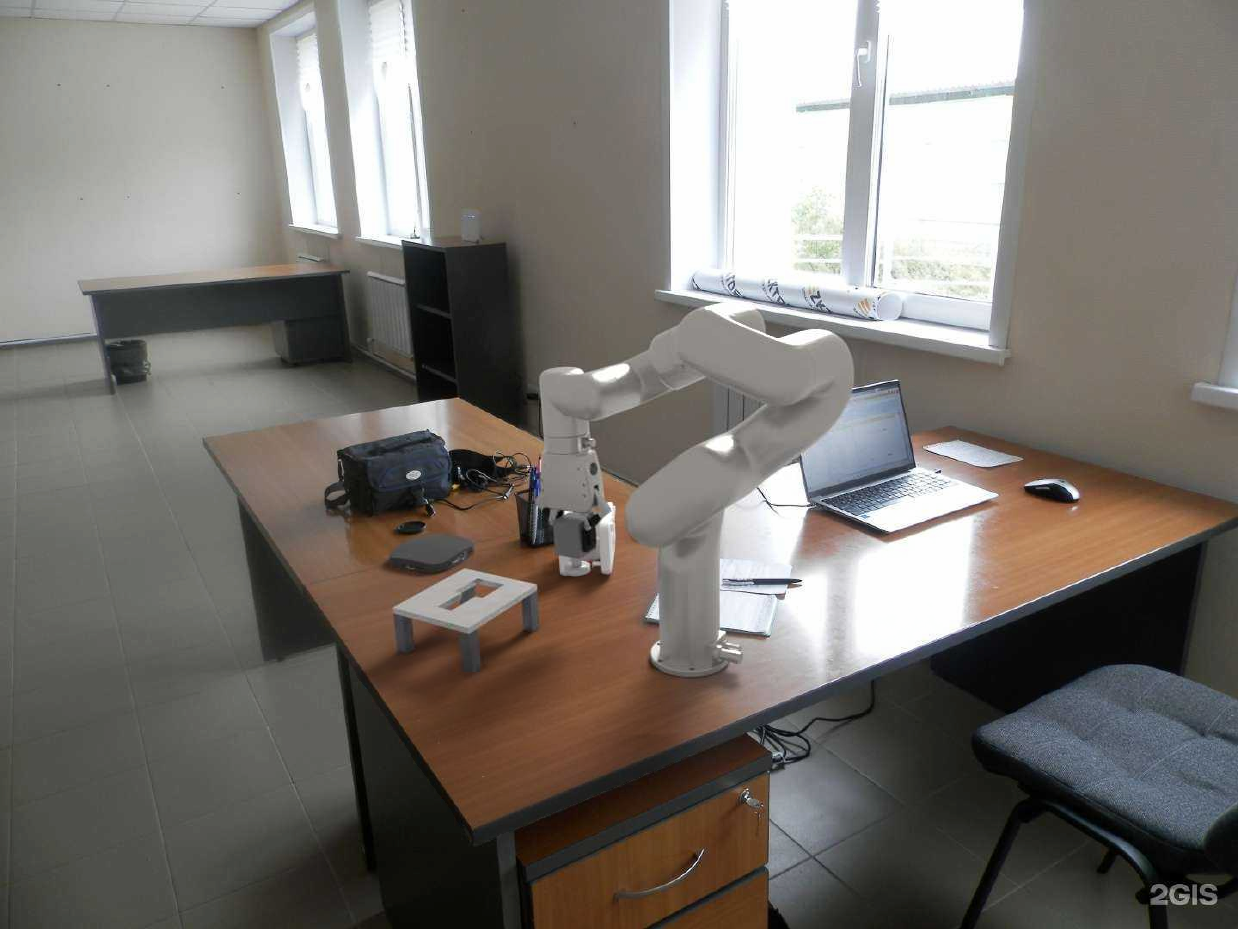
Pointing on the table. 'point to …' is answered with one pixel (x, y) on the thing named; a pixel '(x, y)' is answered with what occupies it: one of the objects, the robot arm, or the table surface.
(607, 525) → the cable organizer
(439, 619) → the miniature table
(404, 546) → the media streaming box
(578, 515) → the peg
